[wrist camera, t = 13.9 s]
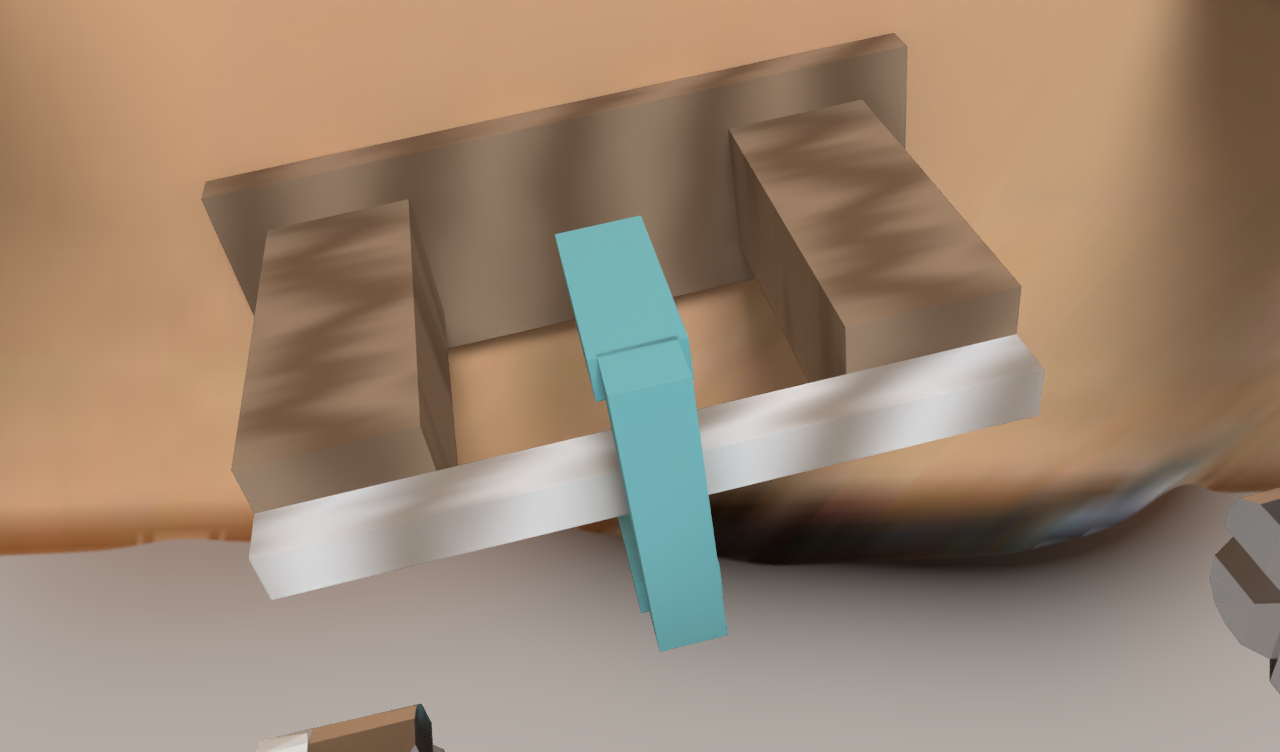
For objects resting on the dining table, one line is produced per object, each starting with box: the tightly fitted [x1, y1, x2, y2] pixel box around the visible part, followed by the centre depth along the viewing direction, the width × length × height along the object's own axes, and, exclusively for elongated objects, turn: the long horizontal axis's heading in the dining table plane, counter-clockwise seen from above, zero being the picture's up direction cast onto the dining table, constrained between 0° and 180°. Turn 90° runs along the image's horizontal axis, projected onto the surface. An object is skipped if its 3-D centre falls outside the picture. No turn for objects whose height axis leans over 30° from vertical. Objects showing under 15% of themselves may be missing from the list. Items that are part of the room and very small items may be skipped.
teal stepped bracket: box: [555, 215, 728, 652], centre depth 37 cm, size 3×12×9 cm, turn 8°
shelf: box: [201, 33, 1045, 600], centre depth 42 cm, size 30×10×18 cm, turn 98°
